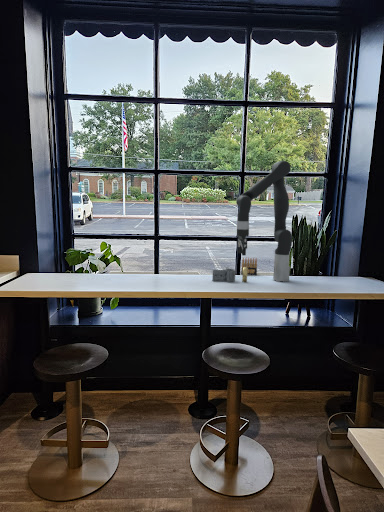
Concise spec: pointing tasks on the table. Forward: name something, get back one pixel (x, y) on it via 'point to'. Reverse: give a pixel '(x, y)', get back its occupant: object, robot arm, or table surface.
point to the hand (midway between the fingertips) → (242, 254)
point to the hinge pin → (244, 274)
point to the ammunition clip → (252, 269)
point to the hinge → (224, 275)
